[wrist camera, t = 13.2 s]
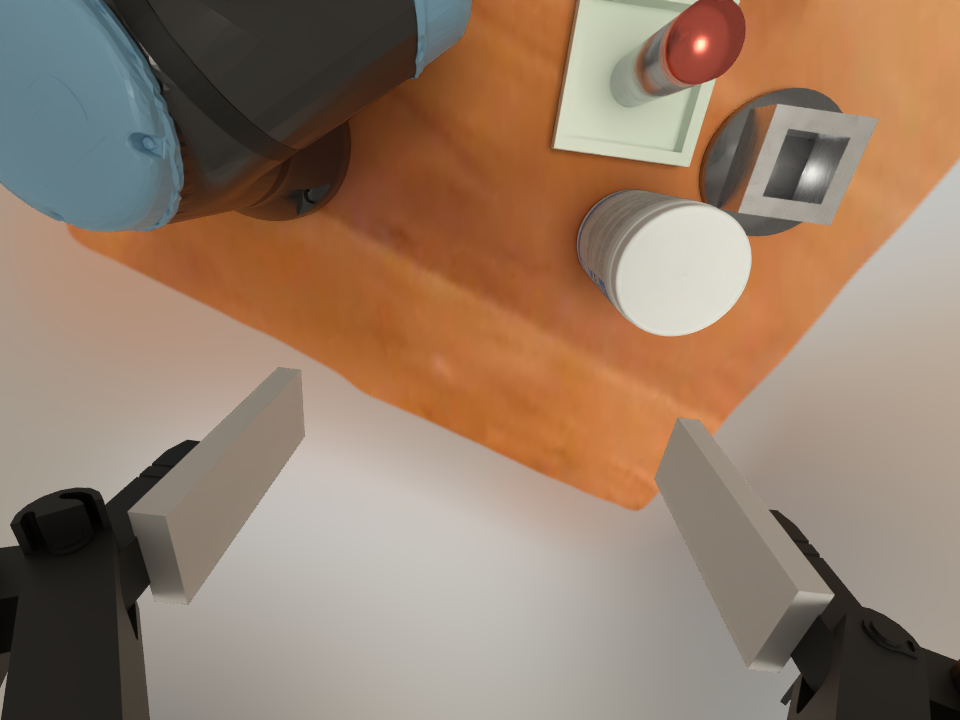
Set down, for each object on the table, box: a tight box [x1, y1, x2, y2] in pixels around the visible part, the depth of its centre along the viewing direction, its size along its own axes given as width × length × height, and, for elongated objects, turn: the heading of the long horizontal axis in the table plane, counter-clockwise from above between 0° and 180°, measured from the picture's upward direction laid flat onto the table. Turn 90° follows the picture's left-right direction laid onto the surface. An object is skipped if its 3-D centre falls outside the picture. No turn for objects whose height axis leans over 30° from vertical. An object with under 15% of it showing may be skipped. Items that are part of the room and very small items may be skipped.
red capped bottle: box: [610, 0, 745, 107], centre depth 30 cm, size 4×4×14 cm
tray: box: [551, 0, 740, 167], centre depth 36 cm, size 12×12×2 cm
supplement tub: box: [577, 189, 751, 336], centre depth 36 cm, size 10×10×15 cm
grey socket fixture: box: [699, 88, 879, 236], centre depth 37 cm, size 12×12×6 cm
